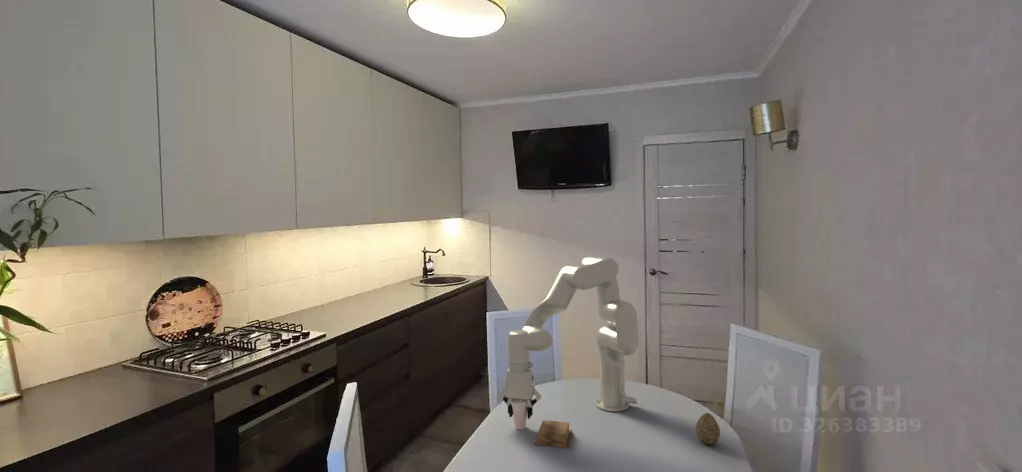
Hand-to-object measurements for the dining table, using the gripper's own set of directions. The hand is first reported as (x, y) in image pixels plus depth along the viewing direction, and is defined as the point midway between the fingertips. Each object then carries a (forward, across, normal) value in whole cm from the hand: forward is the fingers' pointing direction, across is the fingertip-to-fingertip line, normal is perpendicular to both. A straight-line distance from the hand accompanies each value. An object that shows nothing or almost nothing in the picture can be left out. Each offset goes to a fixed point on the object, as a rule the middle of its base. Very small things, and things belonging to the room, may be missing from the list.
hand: (520, 415), depth 163 cm
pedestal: (+4, -13, +6) cm, 15 cm away
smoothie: (+4, 0, 0) cm, 4 cm away
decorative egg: (+4, -62, -1) cm, 62 cm away
